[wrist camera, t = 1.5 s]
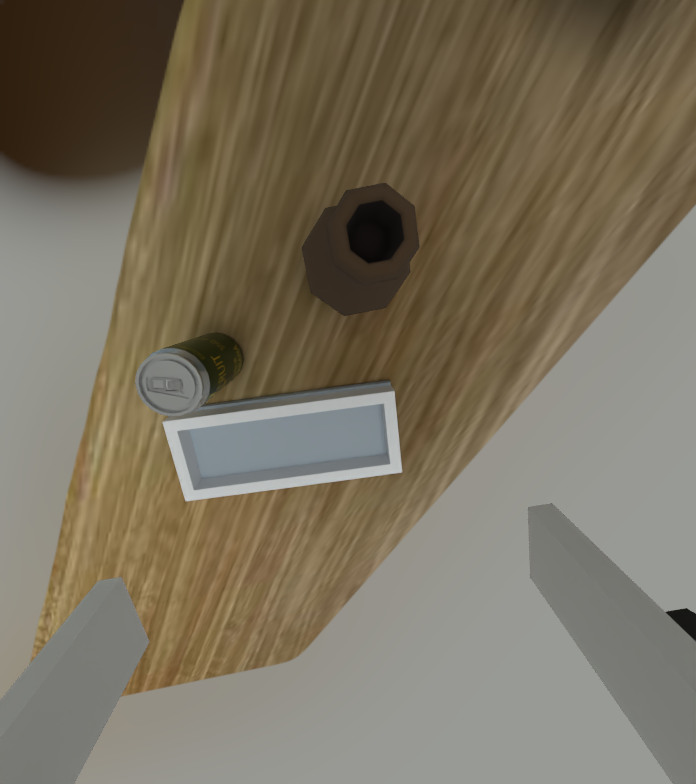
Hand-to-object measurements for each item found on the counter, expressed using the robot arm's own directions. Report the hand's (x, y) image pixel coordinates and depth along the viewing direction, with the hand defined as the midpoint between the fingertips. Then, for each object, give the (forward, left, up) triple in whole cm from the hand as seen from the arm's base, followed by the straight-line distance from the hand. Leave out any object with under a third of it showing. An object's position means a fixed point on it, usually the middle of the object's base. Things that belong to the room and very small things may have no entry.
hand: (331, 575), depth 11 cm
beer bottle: (-11, +3, -29) cm, 31 cm away
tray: (+6, -6, -29) cm, 30 cm away
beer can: (-4, -12, -29) cm, 31 cm away
